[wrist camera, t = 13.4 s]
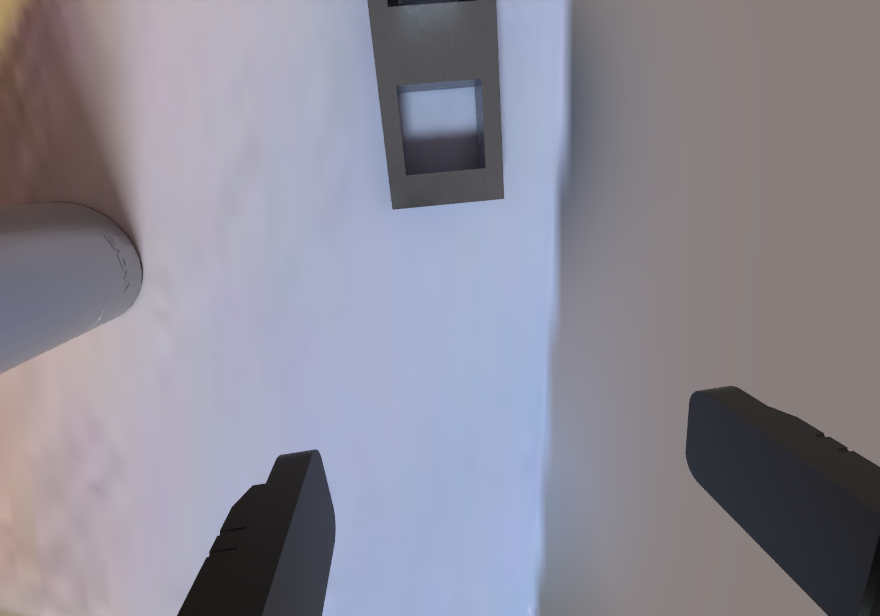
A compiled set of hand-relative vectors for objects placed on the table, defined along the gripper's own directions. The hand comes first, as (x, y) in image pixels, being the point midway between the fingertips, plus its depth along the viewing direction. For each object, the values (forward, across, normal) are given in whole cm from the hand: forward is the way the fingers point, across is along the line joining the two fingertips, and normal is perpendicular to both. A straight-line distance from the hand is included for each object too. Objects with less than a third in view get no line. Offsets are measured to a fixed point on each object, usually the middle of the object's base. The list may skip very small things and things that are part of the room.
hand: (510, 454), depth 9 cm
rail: (+26, -2, -14) cm, 29 cm away
